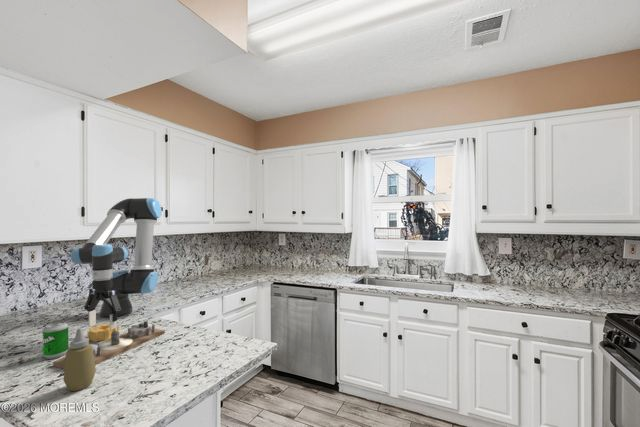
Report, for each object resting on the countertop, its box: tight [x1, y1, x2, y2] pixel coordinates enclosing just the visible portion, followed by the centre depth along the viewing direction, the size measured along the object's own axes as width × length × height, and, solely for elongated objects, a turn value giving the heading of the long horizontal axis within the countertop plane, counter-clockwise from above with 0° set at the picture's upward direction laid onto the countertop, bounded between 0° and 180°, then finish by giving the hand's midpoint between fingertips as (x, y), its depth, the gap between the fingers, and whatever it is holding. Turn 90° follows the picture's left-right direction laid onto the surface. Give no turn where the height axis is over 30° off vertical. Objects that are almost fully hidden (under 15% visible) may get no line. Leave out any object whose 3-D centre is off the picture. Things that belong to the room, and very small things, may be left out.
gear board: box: [52, 320, 166, 370], centre depth 125 cm, size 36×14×7 cm, turn 160°
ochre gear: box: [87, 322, 119, 343], centre depth 137 cm, size 11×11×4 cm
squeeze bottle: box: [63, 328, 97, 392], centre depth 97 cm, size 8×8×18 cm
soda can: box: [42, 321, 70, 360], centre depth 119 cm, size 8×8×12 cm
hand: (102, 327), depth 137 cm, fingers open, 13 cm apart
